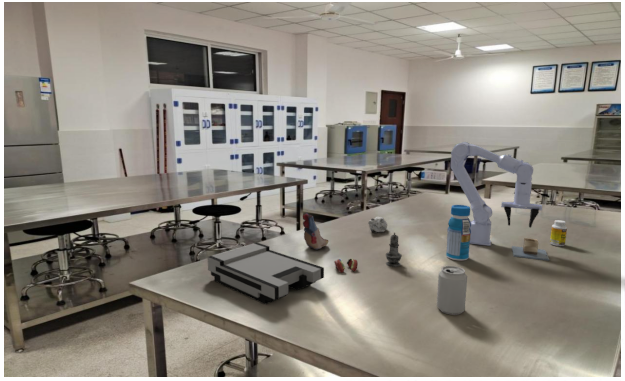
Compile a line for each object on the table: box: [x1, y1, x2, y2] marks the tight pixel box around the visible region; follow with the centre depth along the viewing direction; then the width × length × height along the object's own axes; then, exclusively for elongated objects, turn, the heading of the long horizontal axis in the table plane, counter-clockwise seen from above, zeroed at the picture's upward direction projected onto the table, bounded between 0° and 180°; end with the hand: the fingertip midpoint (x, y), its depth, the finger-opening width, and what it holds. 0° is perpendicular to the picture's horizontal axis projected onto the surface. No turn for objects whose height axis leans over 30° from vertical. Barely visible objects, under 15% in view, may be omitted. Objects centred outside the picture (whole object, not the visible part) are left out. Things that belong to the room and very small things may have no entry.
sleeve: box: [522, 237, 539, 255], centre depth 158 cm, size 5×5×5 cm
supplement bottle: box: [549, 219, 568, 247], centre depth 170 cm, size 6×6×10 cm
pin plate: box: [511, 245, 550, 262], centre depth 159 cm, size 12×12×3 cm
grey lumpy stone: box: [367, 216, 388, 233], centre depth 188 cm, size 8×9×12 cm
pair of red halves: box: [333, 258, 358, 273], centre depth 142 cm, size 6×4×8 cm
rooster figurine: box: [302, 212, 329, 251], centre depth 164 cm, size 9×13×15 cm
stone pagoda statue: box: [385, 232, 403, 268], centre depth 146 cm, size 6×6×12 cm
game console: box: [206, 241, 325, 305], centre depth 129 cm, size 21×32×8 cm, turn 48°
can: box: [436, 265, 468, 316], centre depth 111 cm, size 8×8×12 cm
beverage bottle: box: [445, 204, 471, 262], centre depth 153 cm, size 8×8×20 cm
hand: (519, 225), depth 164 cm, fingers open, 7 cm apart
